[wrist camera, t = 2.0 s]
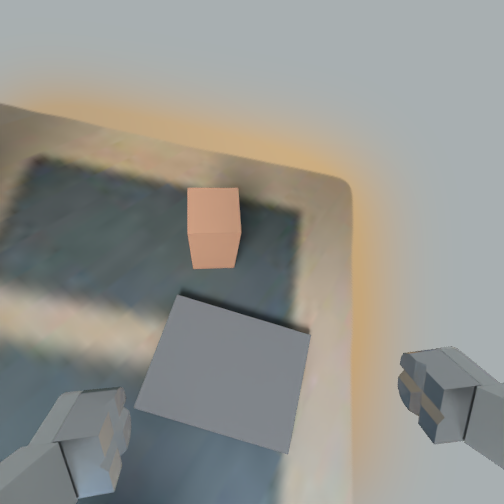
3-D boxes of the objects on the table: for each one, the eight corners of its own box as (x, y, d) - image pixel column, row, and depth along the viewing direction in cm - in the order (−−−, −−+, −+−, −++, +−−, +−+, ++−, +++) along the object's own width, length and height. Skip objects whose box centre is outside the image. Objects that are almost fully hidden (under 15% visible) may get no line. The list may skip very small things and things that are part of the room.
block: (193, 268, 38) (187, 233, 28) (193, 232, 39) (187, 187, 30) (234, 267, 38) (241, 232, 29) (231, 231, 40) (238, 187, 31)
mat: (135, 407, 31) (133, 407, 30) (178, 296, 36) (177, 294, 35) (285, 452, 31) (288, 454, 30) (308, 336, 36) (310, 335, 35)
